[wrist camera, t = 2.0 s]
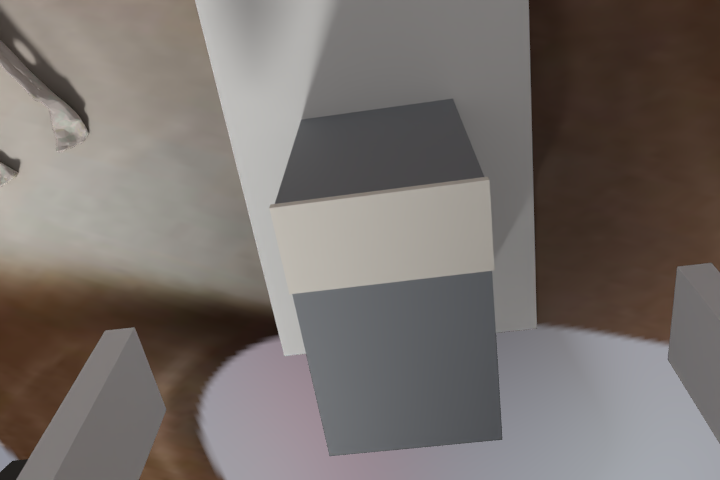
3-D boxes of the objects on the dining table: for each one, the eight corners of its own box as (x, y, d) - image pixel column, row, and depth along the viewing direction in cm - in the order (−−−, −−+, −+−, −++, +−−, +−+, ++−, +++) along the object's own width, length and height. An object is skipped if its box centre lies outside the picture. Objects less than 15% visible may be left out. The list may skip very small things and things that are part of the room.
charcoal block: (470, 303, 25) (504, 441, 18) (338, 318, 25) (327, 459, 19) (454, 95, 21) (489, 179, 15) (299, 116, 21) (268, 208, 15)
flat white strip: (534, 322, 26) (537, 330, 25) (285, 349, 26) (284, 357, 26) (512, -493, 15) (516, -505, 15) (98, -405, 16) (89, -414, 15)
